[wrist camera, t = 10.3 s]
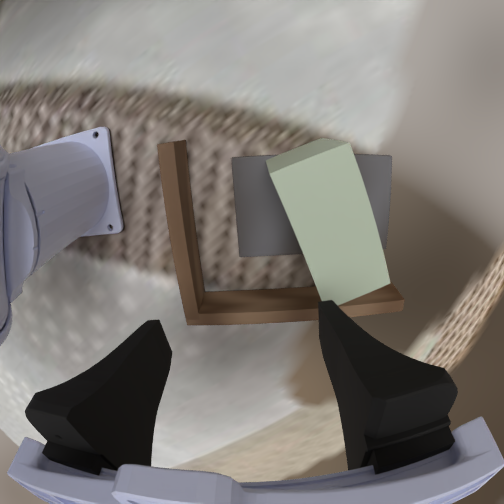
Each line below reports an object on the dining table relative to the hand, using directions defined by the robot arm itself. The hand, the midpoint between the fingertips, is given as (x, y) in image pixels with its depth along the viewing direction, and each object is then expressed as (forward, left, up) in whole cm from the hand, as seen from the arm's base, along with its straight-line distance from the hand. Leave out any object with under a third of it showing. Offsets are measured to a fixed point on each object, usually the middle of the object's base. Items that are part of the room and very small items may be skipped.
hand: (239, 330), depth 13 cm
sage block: (+5, +3, -9) cm, 11 cm away
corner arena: (+3, +2, -9) cm, 10 cm away
